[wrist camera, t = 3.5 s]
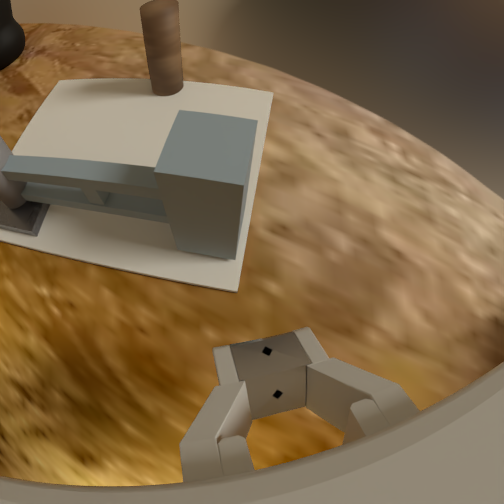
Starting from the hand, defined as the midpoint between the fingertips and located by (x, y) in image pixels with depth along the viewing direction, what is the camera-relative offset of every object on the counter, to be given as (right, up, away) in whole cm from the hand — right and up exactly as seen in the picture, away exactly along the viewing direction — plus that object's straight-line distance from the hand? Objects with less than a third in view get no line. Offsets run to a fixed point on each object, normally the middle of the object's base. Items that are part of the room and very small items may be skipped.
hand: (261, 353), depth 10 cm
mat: (-12, +12, +16) cm, 23 cm away
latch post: (-9, +19, +19) cm, 29 cm away
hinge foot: (-20, +7, +13) cm, 25 cm away
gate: (-11, +6, +13) cm, 18 cm away
